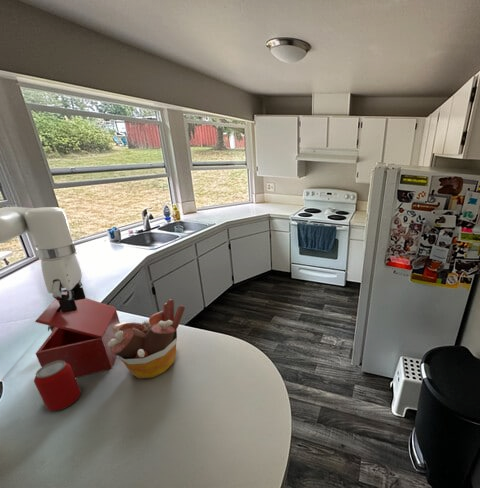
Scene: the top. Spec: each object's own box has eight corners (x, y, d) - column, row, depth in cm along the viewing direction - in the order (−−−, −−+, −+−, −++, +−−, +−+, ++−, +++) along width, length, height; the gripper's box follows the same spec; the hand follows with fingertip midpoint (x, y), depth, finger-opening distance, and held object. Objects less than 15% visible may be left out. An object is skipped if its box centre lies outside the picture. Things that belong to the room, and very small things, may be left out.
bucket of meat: (138, 399, 71) (121, 343, 64) (107, 376, 77) (89, 322, 71) (200, 353, 87) (191, 304, 81) (170, 337, 94) (160, 291, 87)
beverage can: (78, 386, 74) (65, 354, 70) (84, 399, 70) (71, 366, 66) (45, 403, 68) (29, 370, 64) (50, 418, 65) (33, 384, 61)
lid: (34, 322, 68) (46, 305, 68) (61, 292, 81) (72, 278, 81) (100, 338, 76) (111, 323, 76) (115, 309, 90) (124, 296, 90)
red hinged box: (49, 384, 74) (35, 353, 70) (72, 347, 88) (61, 319, 84) (111, 368, 80) (101, 338, 76) (123, 336, 94) (116, 309, 90)
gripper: (53, 242, 77) (70, 293, 83) (20, 264, 62) (43, 324, 68) (85, 240, 80) (99, 289, 86) (61, 260, 66) (80, 318, 72)
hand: (74, 304), depth 77 cm, fingers closed on lid, 6 cm apart
